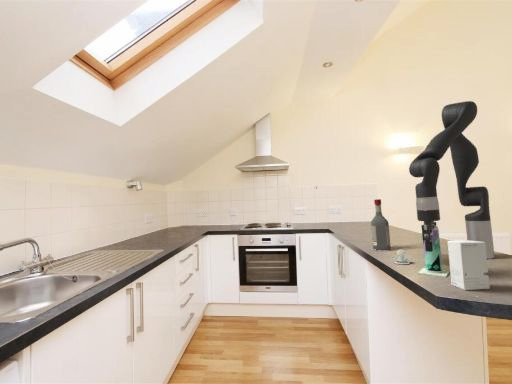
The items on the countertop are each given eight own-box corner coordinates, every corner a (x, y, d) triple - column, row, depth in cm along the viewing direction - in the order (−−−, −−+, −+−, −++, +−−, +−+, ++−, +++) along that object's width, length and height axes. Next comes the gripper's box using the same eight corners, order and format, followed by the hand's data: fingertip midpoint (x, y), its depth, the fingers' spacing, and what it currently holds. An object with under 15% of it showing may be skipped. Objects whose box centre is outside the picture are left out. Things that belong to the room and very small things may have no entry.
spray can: (426, 269, 104) (421, 220, 105) (443, 270, 100) (438, 220, 101) (425, 272, 100) (420, 221, 101) (442, 274, 96) (437, 221, 97)
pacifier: (412, 265, 113) (410, 262, 118) (411, 251, 113) (409, 248, 119) (393, 265, 116) (392, 261, 121) (392, 251, 116) (391, 248, 121)
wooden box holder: (433, 264, 112) (432, 252, 113) (460, 266, 106) (459, 254, 106) (428, 268, 105) (427, 256, 106) (457, 272, 99) (456, 259, 99)
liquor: (389, 248, 155) (385, 199, 156) (391, 250, 146) (386, 198, 148) (372, 247, 158) (368, 199, 160) (373, 250, 149) (369, 199, 151)
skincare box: (464, 290, 79) (459, 242, 80) (450, 284, 85) (445, 240, 86) (491, 289, 79) (486, 241, 80) (475, 283, 85) (470, 238, 86)
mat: (423, 268, 106) (423, 267, 106) (449, 271, 100) (449, 270, 100) (417, 273, 100) (417, 272, 100) (446, 277, 93) (446, 275, 93)
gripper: (420, 208, 109) (424, 246, 108) (412, 210, 99) (416, 251, 98) (442, 207, 104) (446, 247, 103) (435, 209, 94) (439, 253, 93)
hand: (431, 249), depth 100 cm, fingers open, 8 cm apart
